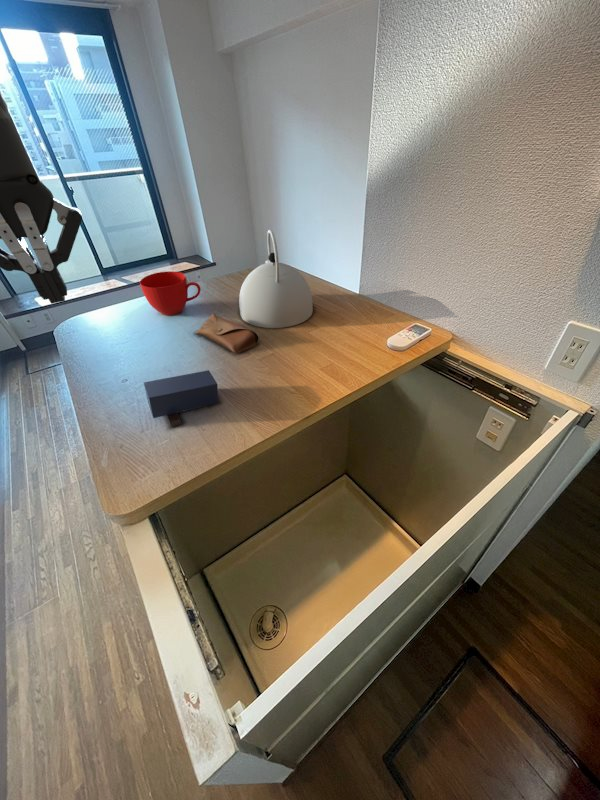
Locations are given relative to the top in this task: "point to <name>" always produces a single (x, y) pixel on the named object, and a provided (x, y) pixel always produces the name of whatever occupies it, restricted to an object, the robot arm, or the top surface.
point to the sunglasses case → (228, 334)
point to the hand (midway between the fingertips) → (57, 300)
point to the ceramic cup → (167, 291)
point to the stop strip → (174, 419)
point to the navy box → (181, 393)
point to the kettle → (275, 294)
